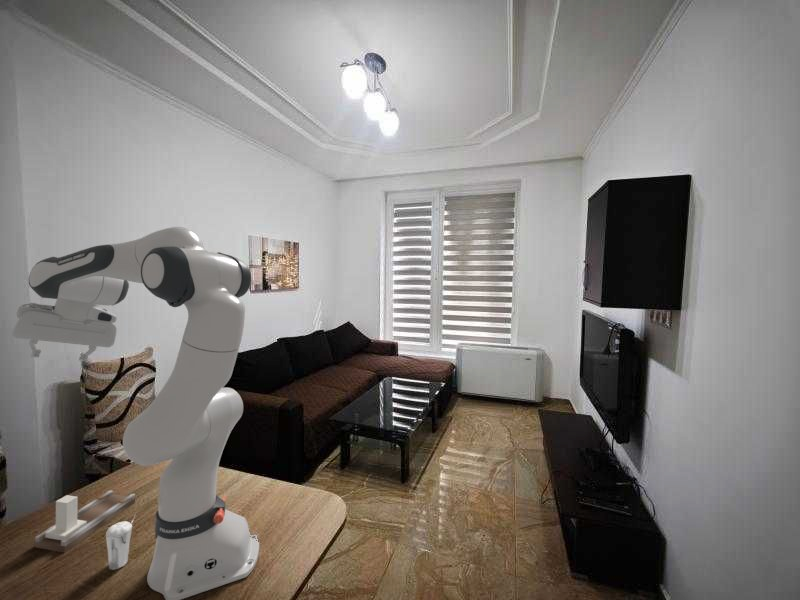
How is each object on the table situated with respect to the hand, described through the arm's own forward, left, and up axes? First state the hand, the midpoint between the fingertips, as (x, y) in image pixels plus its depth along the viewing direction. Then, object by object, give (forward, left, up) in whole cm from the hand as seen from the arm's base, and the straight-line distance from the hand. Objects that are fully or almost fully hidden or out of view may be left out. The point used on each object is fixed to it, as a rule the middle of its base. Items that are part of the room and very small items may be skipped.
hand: (59, 358), depth 91 cm
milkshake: (-25, +27, -41) cm, 55 cm away
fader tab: (-10, +16, -39) cm, 43 cm away
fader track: (-12, +11, -41) cm, 44 cm away
